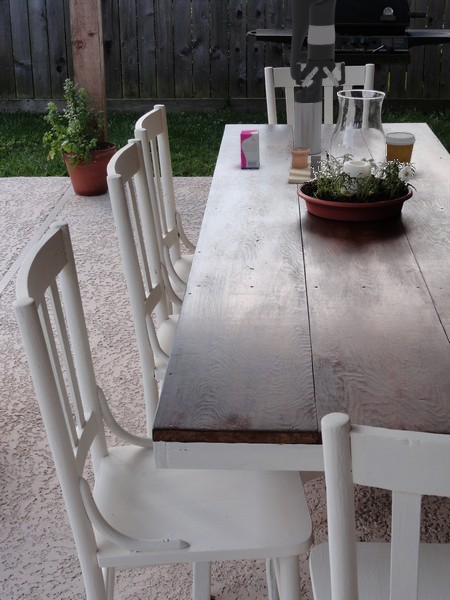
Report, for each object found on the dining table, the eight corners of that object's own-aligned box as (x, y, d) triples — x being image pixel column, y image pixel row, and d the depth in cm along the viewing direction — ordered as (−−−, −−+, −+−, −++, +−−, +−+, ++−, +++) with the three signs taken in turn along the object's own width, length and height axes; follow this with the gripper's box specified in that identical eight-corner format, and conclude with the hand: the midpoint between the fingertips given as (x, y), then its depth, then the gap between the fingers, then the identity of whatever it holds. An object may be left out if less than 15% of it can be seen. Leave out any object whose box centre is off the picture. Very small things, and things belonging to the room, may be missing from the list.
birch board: (291, 162, 260) (291, 141, 257) (322, 162, 258) (322, 141, 256) (288, 182, 238) (288, 159, 235) (322, 182, 237) (322, 159, 234)
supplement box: (259, 164, 259) (259, 129, 254) (258, 169, 254) (258, 133, 249) (242, 164, 260) (241, 129, 255) (240, 169, 254) (240, 133, 250)
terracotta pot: (290, 164, 254) (290, 146, 251) (309, 164, 253) (309, 146, 251) (290, 169, 248) (290, 151, 246) (309, 169, 248) (309, 151, 245)
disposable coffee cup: (414, 170, 247) (417, 132, 242) (412, 178, 239) (415, 139, 234) (383, 169, 250) (385, 131, 245) (380, 177, 241) (382, 138, 236)
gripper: (346, 39, 227) (344, 96, 234) (296, 40, 229) (296, 97, 236) (347, 43, 221) (344, 102, 228) (295, 43, 222) (295, 102, 229)
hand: (320, 99), depth 232 cm, fingers open, 8 cm apart
